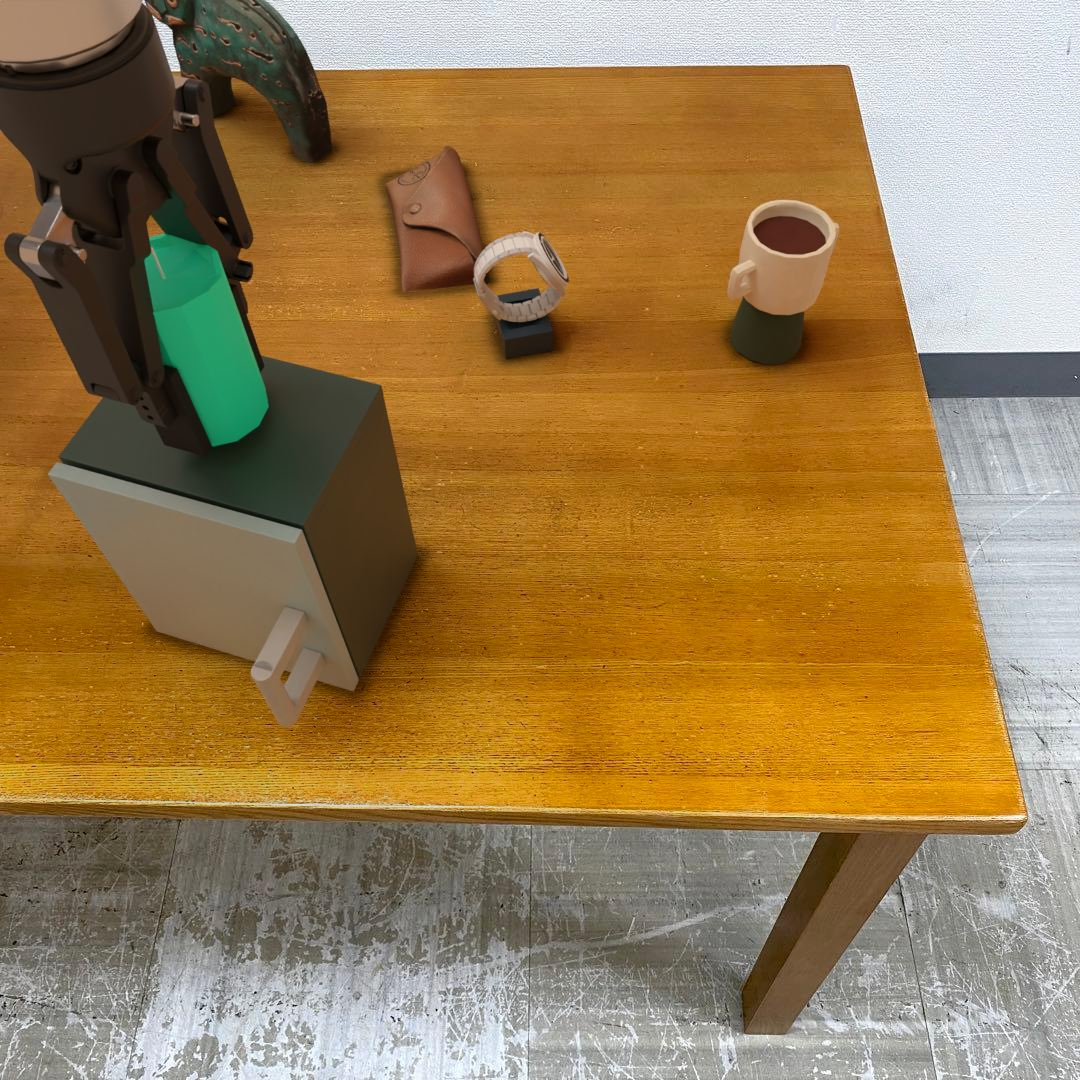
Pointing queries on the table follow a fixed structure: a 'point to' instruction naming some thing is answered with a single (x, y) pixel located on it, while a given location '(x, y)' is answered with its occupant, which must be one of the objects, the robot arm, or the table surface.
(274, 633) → the cabinet door
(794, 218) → the character mug
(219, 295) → the candle
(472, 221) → the sunglasses case
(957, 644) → the table surface
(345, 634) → the cabinet
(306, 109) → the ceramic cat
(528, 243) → the watch
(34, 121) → the robot arm
